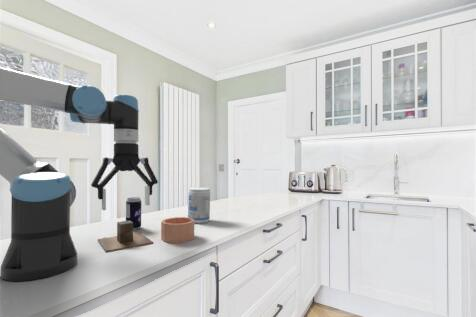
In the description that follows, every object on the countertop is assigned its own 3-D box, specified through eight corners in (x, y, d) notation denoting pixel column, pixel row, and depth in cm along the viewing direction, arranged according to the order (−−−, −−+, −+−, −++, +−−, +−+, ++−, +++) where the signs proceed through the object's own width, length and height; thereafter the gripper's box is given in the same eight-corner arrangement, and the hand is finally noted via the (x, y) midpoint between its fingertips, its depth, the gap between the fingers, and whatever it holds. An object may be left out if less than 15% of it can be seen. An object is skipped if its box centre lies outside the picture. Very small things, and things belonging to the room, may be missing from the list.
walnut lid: (105, 254, 76) (105, 230, 76) (97, 242, 87) (97, 221, 87) (153, 245, 85) (153, 223, 85) (140, 235, 96) (140, 216, 96)
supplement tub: (183, 222, 114) (183, 188, 114) (196, 218, 122) (196, 186, 123) (201, 224, 110) (202, 189, 110) (214, 220, 118) (214, 187, 118)
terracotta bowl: (169, 244, 83) (169, 226, 83) (156, 236, 92) (157, 219, 92) (199, 238, 90) (199, 221, 90) (185, 231, 98) (185, 216, 99)
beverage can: (135, 230, 100) (136, 199, 100) (122, 229, 101) (122, 198, 101) (143, 227, 105) (144, 197, 105) (131, 226, 106) (131, 196, 106)
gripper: (84, 140, 76) (84, 213, 76) (166, 143, 91) (167, 204, 91) (81, 142, 82) (81, 209, 82) (159, 144, 97) (159, 201, 97)
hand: (126, 207), depth 86 cm, fingers open, 13 cm apart
